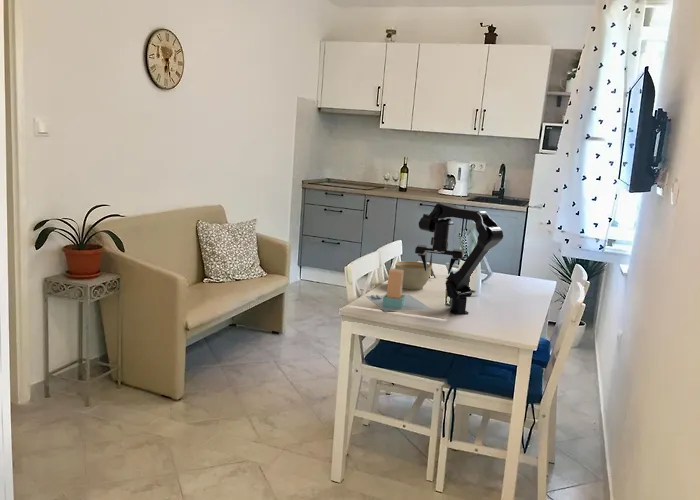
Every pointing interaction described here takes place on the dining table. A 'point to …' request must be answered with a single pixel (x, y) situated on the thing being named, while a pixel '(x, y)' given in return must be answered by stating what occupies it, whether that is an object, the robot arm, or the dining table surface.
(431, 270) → the eiffel tower figurine
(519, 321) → the dining table surface
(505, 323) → the dining table surface
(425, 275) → the planter bowl
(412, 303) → the baseplate
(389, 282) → the terracotta brick
